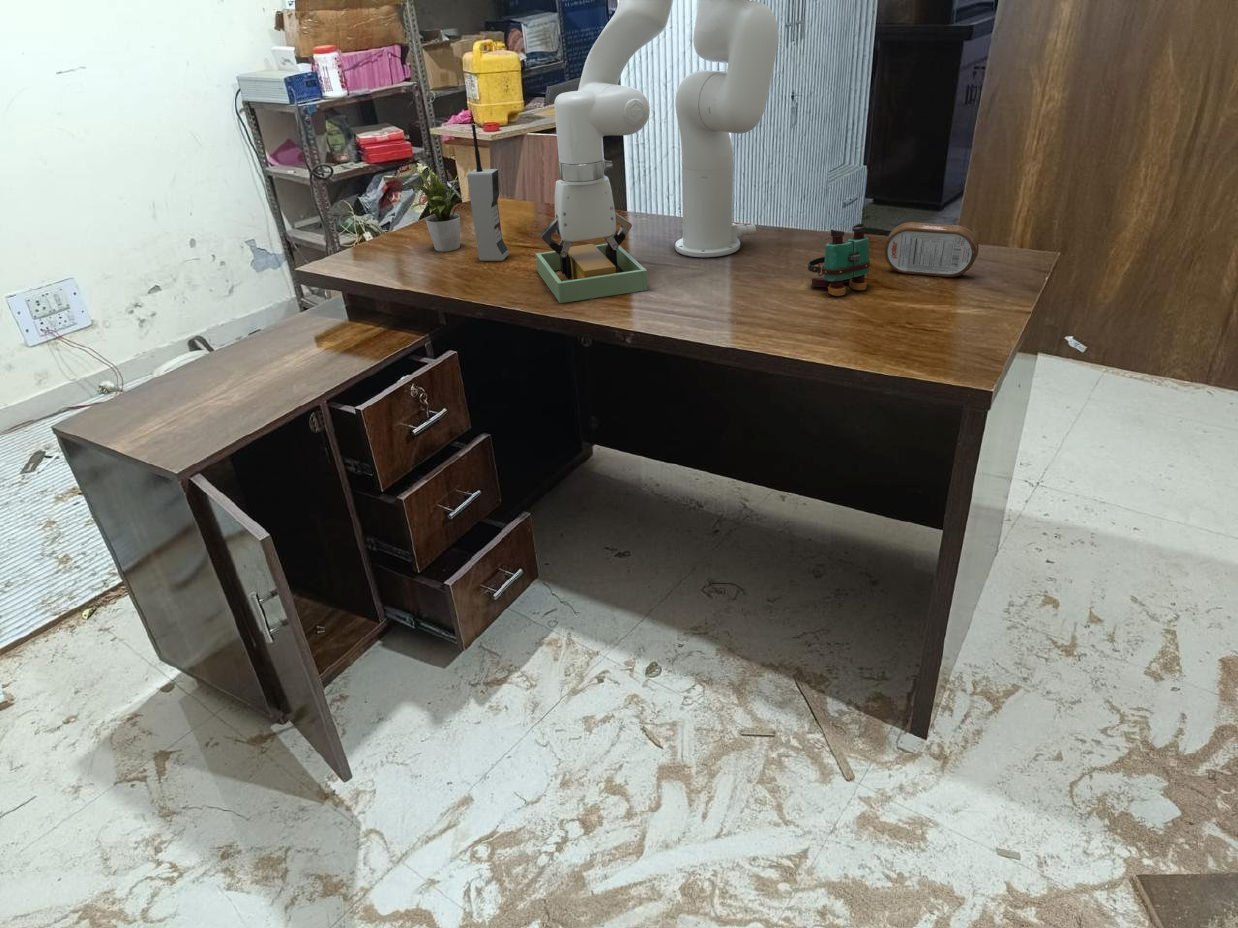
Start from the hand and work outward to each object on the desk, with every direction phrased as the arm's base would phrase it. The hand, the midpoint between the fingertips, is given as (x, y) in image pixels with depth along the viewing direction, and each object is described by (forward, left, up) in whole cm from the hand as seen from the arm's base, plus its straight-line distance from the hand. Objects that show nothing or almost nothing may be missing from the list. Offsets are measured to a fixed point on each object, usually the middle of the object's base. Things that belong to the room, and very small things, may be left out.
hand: (589, 273), depth 150 cm
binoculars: (-37, +21, -2) cm, 43 cm away
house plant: (+23, -35, -2) cm, 41 cm away
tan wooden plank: (0, 0, -1) cm, 1 cm away
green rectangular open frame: (0, 0, -1) cm, 1 cm away
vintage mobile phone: (+14, -22, -2) cm, 26 cm away
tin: (-54, +22, -2) cm, 59 cm away
